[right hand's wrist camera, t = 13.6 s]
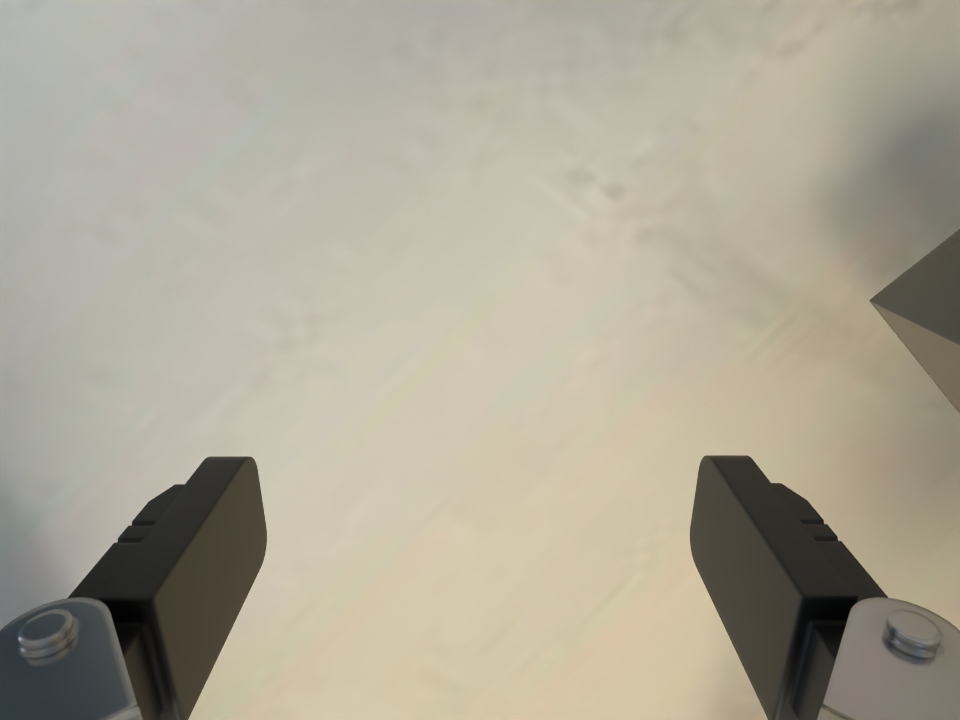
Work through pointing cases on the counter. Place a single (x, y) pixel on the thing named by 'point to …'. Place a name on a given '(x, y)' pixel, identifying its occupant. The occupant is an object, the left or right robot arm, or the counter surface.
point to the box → (929, 314)
